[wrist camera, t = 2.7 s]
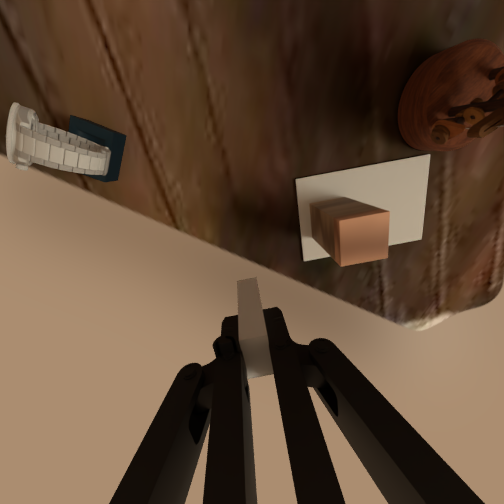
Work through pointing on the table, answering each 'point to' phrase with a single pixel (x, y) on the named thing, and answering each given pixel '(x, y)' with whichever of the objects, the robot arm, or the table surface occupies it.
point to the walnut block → (350, 230)
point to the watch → (63, 145)
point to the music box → (454, 97)
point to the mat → (370, 197)
